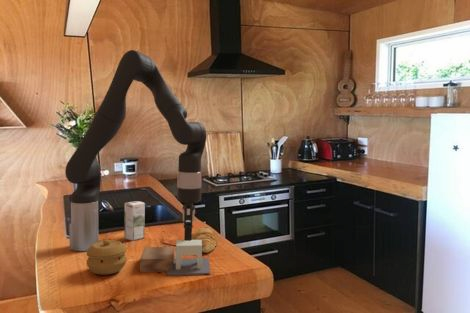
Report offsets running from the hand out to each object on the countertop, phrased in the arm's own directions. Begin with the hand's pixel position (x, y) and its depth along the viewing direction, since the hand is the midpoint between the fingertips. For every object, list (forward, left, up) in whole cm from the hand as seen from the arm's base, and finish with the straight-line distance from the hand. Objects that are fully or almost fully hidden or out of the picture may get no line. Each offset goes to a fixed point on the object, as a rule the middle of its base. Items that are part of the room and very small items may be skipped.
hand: (188, 236), depth 123 cm
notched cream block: (0, 0, -10) cm, 10 cm away
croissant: (+5, +22, -11) cm, 25 cm away
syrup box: (-22, +33, -10) cm, 41 cm away
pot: (-25, -2, -10) cm, 27 cm away
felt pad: (0, 0, -10) cm, 10 cm away
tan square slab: (-10, +3, -10) cm, 14 cm away
